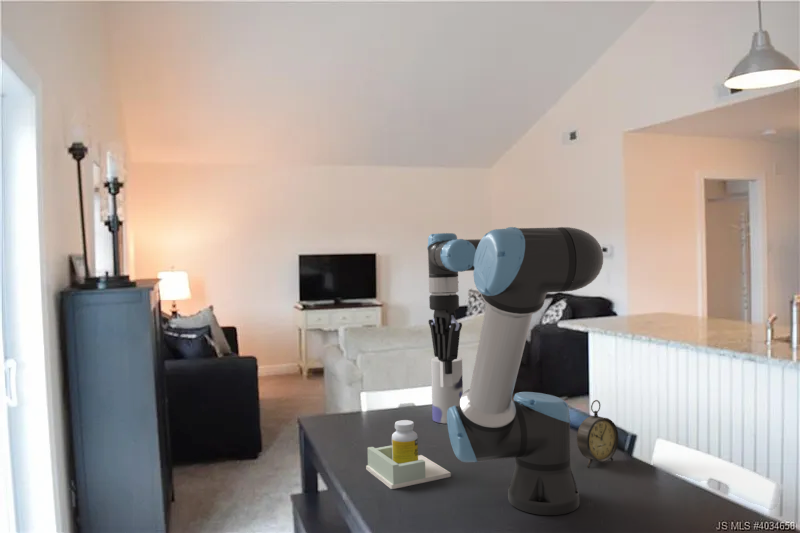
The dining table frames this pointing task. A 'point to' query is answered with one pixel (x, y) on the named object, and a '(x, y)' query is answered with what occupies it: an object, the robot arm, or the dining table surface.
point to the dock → (402, 469)
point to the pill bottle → (404, 442)
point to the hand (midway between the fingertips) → (446, 386)
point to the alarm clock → (597, 438)
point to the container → (445, 390)
